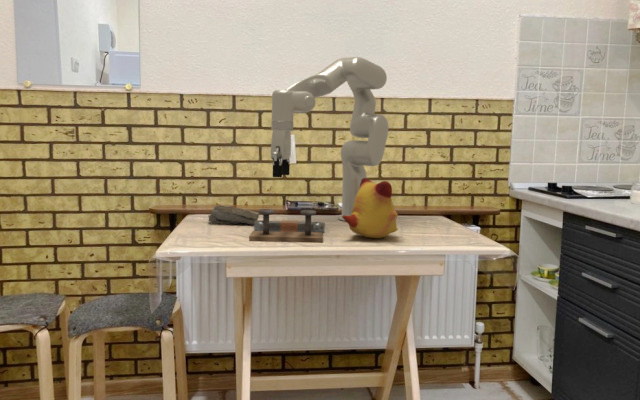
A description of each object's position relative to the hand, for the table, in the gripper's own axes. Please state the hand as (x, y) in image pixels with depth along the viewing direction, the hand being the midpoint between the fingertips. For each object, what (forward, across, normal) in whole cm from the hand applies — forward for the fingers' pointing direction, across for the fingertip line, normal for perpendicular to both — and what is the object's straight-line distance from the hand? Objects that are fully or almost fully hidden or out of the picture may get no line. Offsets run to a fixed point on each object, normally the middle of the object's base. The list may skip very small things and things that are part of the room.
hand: (281, 176), depth 201 cm
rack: (+20, +10, +5) cm, 23 cm away
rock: (+20, -11, -21) cm, 31 cm away
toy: (+20, +1, +31) cm, 37 cm away
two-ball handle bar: (+20, -2, +3) cm, 20 cm away
